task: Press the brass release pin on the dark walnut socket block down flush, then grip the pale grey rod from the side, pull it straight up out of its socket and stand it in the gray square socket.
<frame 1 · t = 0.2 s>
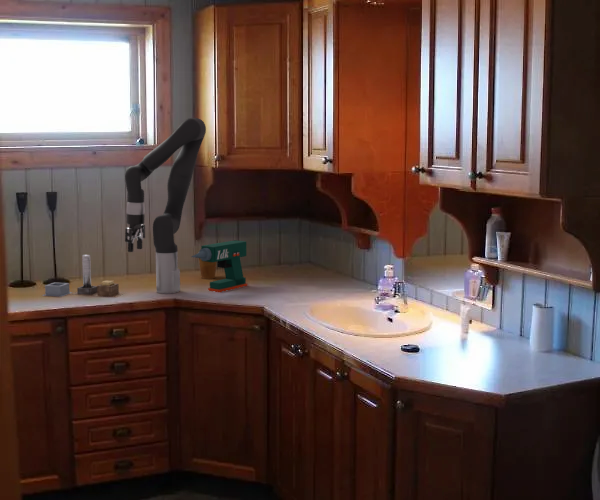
hand: (135, 250, 348), 17 cm above the counter, tool pointing down, fingers open, 8 cm apart
pale grey rod: (87, 292, 340), point 1 cm above the counter, touching socket block
disposable coffee cup: (208, 278, 381), on the counter
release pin: (107, 284, 337), point 5 cm above the counter, slide at 0.0 cm
gray square socket: (57, 296, 339), on the counter
socket block: (98, 295, 339), on the counter
power tool: (218, 291, 351), on the counter
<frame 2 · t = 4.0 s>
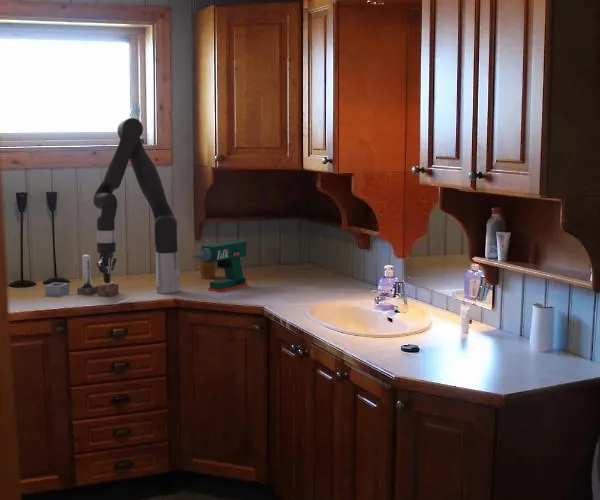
hand: (107, 282, 337), 6 cm above the counter, tool pointing down, fingers closed
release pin: (107, 285, 337), point 5 cm above the counter, slide at 0.4 cm, touching gripper
everything else where it was.
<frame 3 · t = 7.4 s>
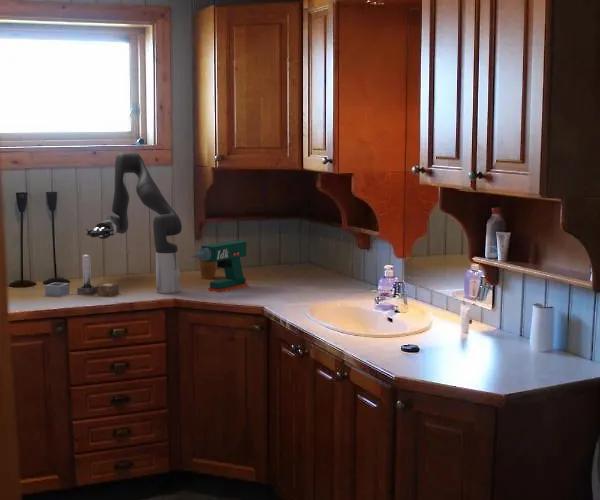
hand: (93, 234, 346), 24 cm above the counter, tool horizontal, fingers closed
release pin: (107, 287, 338), point 4 cm above the counter, slide at 1.4 cm
everything else where it was.
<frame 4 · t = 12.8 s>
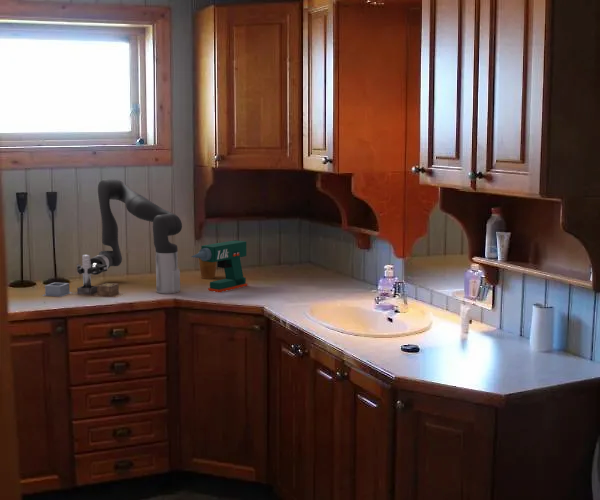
hand: (84, 271, 336), 11 cm above the counter, tool horizontal, fingers closed on pale grey rod, 3 cm apart
pale grey rod: (87, 292, 340), point 1 cm above the counter, touching gripper, socket block
everything else where it was.
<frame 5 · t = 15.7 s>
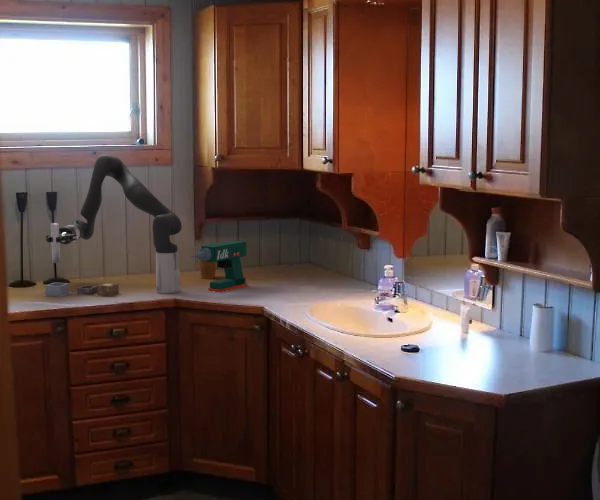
hand: (52, 240, 332), 24 cm above the counter, tool horizontal, fingers closed on pale grey rod, 3 cm apart
pale grey rod: (56, 262, 337), point 14 cm above the counter, touching gripper
everything else where it was.
when the fingers open (12 cm above the counter, at t = 18.9 s): pale grey rod drops 1 cm, resting on gray square socket.
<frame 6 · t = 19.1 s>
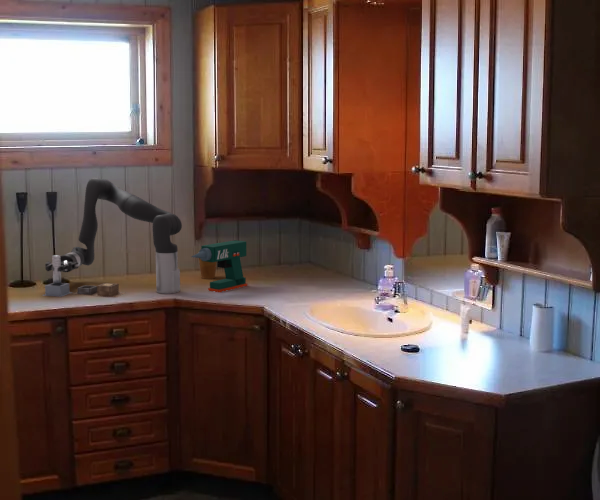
hand: (54, 268, 334), 12 cm above the counter, tool horizontal, fingers open, 5 cm apart
pale grey rod: (57, 293, 338), point 1 cm above the counter, touching gray square socket
everything else where it was.
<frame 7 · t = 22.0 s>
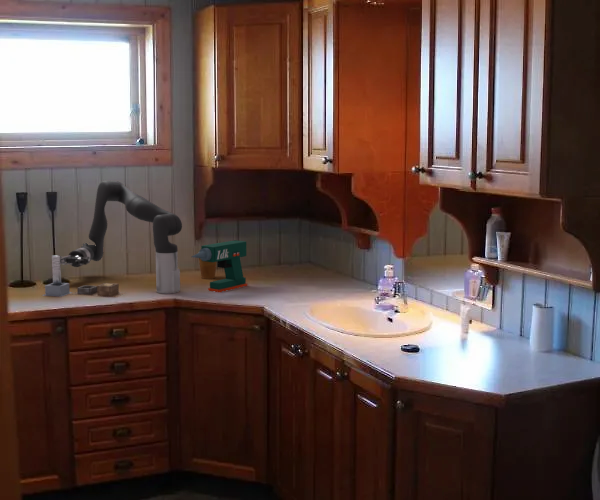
hand: (66, 263, 348), 12 cm above the counter, tool horizontal, fingers open, 8 cm apart
nothing on the counter moved.
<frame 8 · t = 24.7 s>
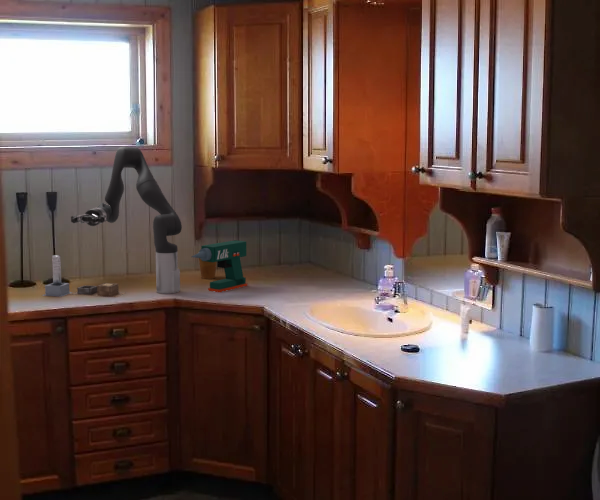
hand: (83, 220, 347), 30 cm above the counter, tool horizontal, fingers open, 8 cm apart
nothing on the counter moved.
at the end: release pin slide at 1.4 cm; pale grey rod 0.1 cm off-centre on the gray square socket, point 1.0 cm above the gray square socket's base; pale grey rod tilted 1° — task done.
